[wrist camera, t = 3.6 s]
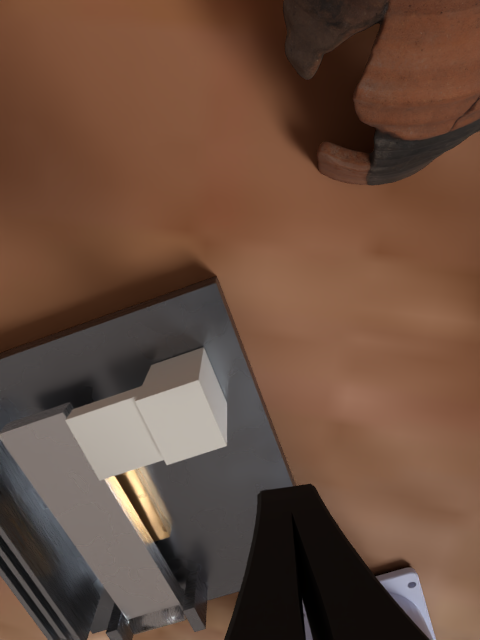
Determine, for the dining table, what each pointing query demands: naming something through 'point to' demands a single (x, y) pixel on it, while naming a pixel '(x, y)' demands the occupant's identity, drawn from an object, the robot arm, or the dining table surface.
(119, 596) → the strap
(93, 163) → the dining table surface
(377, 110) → the pottery mug
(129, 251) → the dining table surface
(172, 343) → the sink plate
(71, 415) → the block
